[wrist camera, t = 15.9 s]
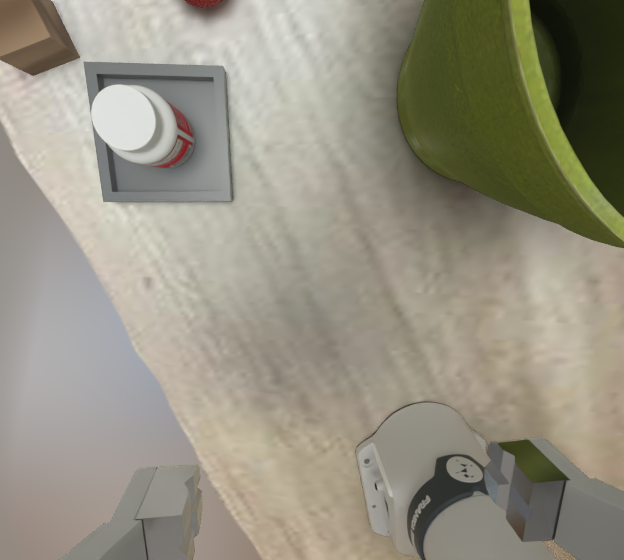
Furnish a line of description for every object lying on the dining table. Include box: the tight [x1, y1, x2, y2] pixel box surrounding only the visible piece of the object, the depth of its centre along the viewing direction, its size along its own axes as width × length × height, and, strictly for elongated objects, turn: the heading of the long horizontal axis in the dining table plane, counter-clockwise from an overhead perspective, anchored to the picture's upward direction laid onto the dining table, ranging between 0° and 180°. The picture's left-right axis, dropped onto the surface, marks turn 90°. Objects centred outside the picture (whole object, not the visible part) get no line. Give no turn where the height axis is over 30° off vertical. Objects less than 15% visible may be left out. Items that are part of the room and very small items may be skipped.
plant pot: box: [397, 0, 624, 248], centre depth 27 cm, size 30×30×29 cm
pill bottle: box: [91, 85, 195, 168], centre depth 32 cm, size 6×6×11 cm
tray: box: [84, 62, 233, 202], centre depth 37 cm, size 13×13×2 cm
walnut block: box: [0, 0, 80, 76], centre depth 33 cm, size 5×5×5 cm
